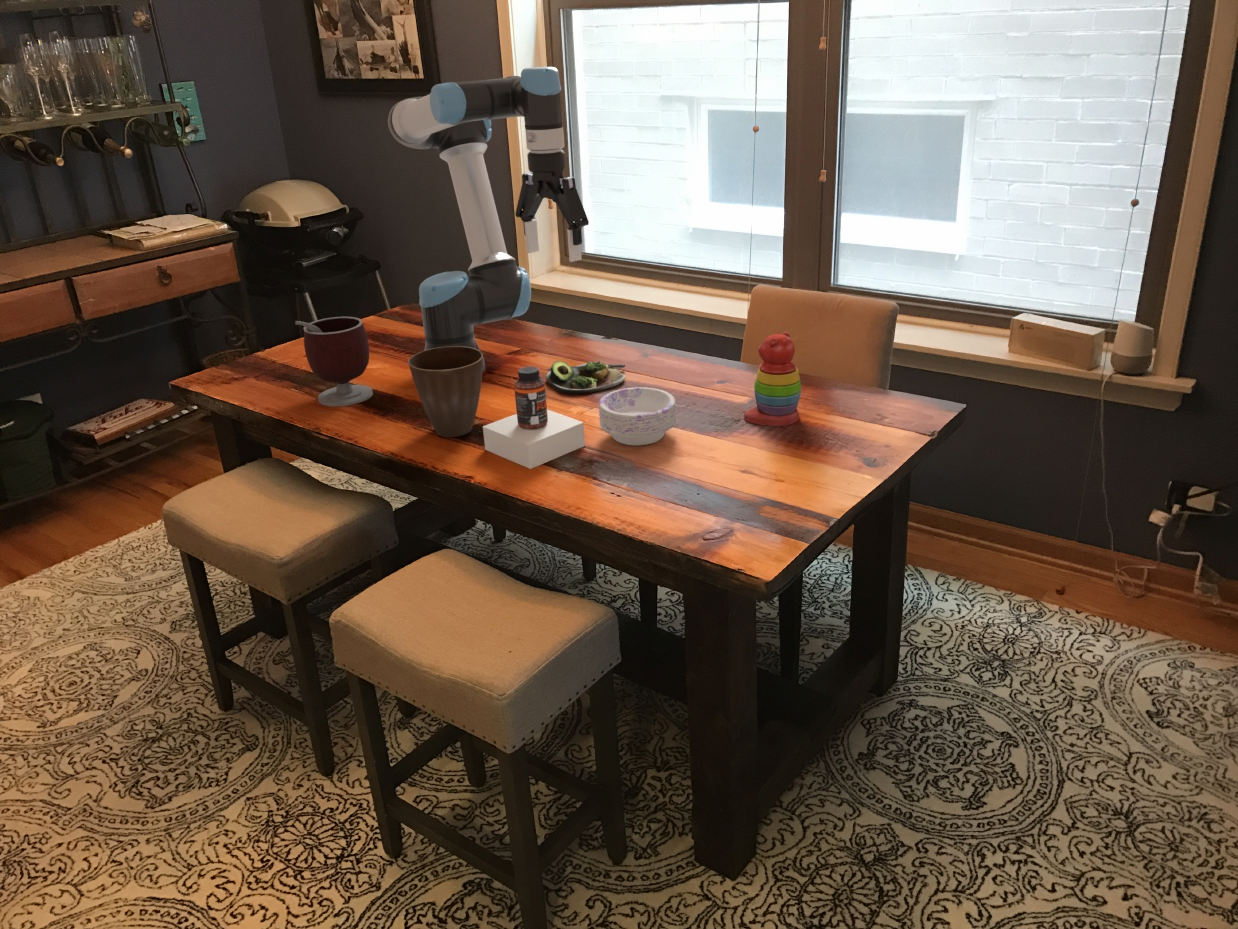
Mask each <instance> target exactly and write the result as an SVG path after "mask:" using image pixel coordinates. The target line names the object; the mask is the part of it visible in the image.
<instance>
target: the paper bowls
mask: <svg viewBox="0 0 1238 929" xmlns="http://www.w3.org/2000/svg"><path fill="white" fill-rule="evenodd" d="M676 402H677V401H676V398H675V397H674V396H673V395H672V394H671V393H670V392H667V391H665V390H662V389H658V388H655V387H654V388H653V387H646V386H645V387H642V386H641V387H638V386H636V387H635V386H634V387H627V388H621V389H616V390H613V391H611V392H609V393H607V394H604V396H602V397H601V398H600V400H599V402H598V413H599V414H598V415H599V426H600V428H601V430H602V431H603V432H605V433H607V434H608V435H611V437H612V439H614V440H615V441H616V442H617V443H620V444H623V445H625V446H626V445H627V446H636V447H639V446H640V447H641V446H647V445H651V444H654V443H656V442H658V441H660V440H661V439H662V438H663V437H665V434H666V432H669V431H670V430H671V429H672V428H673V427H674V426H675V425H676V423H677V413H676V412H677V407H676V406H677V405H676Z"/></svg>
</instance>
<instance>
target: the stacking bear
mask: <svg viewBox="0 0 1238 929" xmlns="http://www.w3.org/2000/svg"><path fill="white" fill-rule="evenodd" d="M795 351H796V346H795V342H794V341H793V340H792V339H791V336H790V334H789V333H788V332H787V331H784V332H783V333H782V334H781V333H779V334H778V333H775V334H771V335H769V336H767V337H766V338H765V339H764V341H763V342H762V343H761V344H760V345H759V346H758V349H757V352H758V355H759V357H760V359H761V360H762V362H760V364H759V366H758V370H757V373H756V378H755V380H754V387H753V388H754V392H753V393H754V397H755V404H756V407H753V408H750V409H748V410H747V411H746V412H744V415H743V419H744V421H745V422H749V423H751V424H755V425H760V426H767V425H768V426H769V427H784V426H788V425H792V424H795V423H796V422H798V421H799V419H800V412H799V410H798V405H799V401H800V399H801V394H802V382H801V379H800V373H799V372H800V371H799V369H798V367H797V366H796V365H795V363H794V362H793V358H794V356H795V353H796V352H795Z"/></svg>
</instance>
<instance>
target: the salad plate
mask: <svg viewBox="0 0 1238 929" xmlns="http://www.w3.org/2000/svg"><path fill="white" fill-rule="evenodd" d="M607 363H608V361H605V363H601V361H600V360H598V361H593V362H592V361H587V362H586V363H584V364H579V365H574V366H571V365H569V364H568V363H566V362H564V361H561V360H557V361H554V362H553V363H552V365H551V366H550V367H549V368H547V369H546V370H547V371H548V373H547V374H546V375H545V378H546V379H545V380H546V382H547V383H548V385H550V387H551V388H552V389H554V390H555V391H557V392H558V393H562V394H565V395H570V394H571V395H573V396H574V395H575V396H576V395H577V396H578V395H579V394H580V395H586V394H587V395H588V394H591V393H596V392H599V391H604V390H608V389H611V388H613V387H616V386H618V385H620V384H621V383H622V382H624V381H625V379H626V376H625V374H623V373H622V372H620V371H619V370H620V369H624V368H625V367H626V364H621V363H620V364H618V363H617V364H607ZM606 380H608V381H611V383H609V384H606V385H602V386H597V384H598V383H599V382H604V381H606Z"/></svg>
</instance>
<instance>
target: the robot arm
mask: <svg viewBox="0 0 1238 929" xmlns="http://www.w3.org/2000/svg"><path fill="white" fill-rule="evenodd" d="M430 90H431V91H430V93H428V94H426V95H424V96H414V97H409V98H405V99H403V100H401V101H399V102H396V104H394V105H393V106H392V107H391V109H390V111H389V114H388V118H387V126H388V129H389V131H390V133H391V135H392V136H393V138H394V139H395V140H396V141H397V142H398V143H399V144H401V145H403V146H405V147H407V148H411V149H415V150H428V149H429V150H430V149H437V151H438V154H439V158H440V159H441V160H443V161H445V162H446V163H447V165H448V169H449V173H450V176H451V177H450V178H451V181H452V185H453V189H454V193H455V197H456V200H457V201H456V202H457V205H458V208H459V213H460V217H461V220H462V225H463V228H464V232H465V237H466V240H467V245H468V249H469V253H470V257H471V260H472V261H471V264H470V266H469V267H468V269H467V271H468V274H467V273H466V272H465V271H461V270H453V271H444V272H440V273H437V274H434V275H432V276H429V277H428V278H426V279H424V280H423V281H422V282H421V283H420V285H419V287H418V295H419V301H418V303H419V306H420V312H421V318H422V326H423V334H424V339H425V346H424V350H428V349H432V348H438V347H447V346H464V347H471V348H475V349H478V350H480V351H481V349H480V347H479V345H478V343H477V340H476V338H475V332H474V326H477V325H478V326H479V325H483V324H487V323H492V322H497V321H503V320H511V319H513V318H516V317H520V316H523V315H524V314H525V313H527V311H528V310H529V306H530V302H531V298H532V286H531V280H530V276H529V273H527V270H526V269H525V268H524V267H522V266H518V265H517V262H516V258H515V257H514V256H511V255H510V254H508V251H507V248H506V243H505V239H504V235H503V232H502V230H503V229H502V227H501V223H500V219H499V214H498V211H497V207H496V203H495V199H494V194H493V191H492V186H491V182H490V179H489V174H488V170H487V166H486V162H485V157H484V154H485V153H486V151H487V149H488V143H487V142H489V141H490V139H491V138H492V134H493V133H492V130H493V129H492V128H491V126H492V120H498V119H507V118H517V117H522V118H524V129H525V139H526V140H525V141H526V149H527V150H528V151H529V152H528V153H527V154H526V155H527V156H526V157H527V165H528V166H527V168H528V171H529V172H526V173H525V172H524V173H522V175H521V186H520V192H519V197H518V200H517V206H516V209H515V216H516V218H520V220H521V221H522V223H523V234H524V236H525V244H526V253H527V254H532V253H536V252H540V246H539V235H538V234H539V233H538V222H537V217H536V214H537V212H538V210H539V208H540V206H541V204H542V202H543V201H544V200H543V199H548V200H551V201H552V202H553V203H555V204H556V206H557V207H558V209H559V211H560V212H561V214H562V216H563V217H564V219H565V221H566V223H567V224H568V228H567V229H566V230H567V246H568V259H569V260H568V261H569V263H570V262H571V263H573V262H578V261H581V260H582V257H583V256H582V244H583V238H582V236H583V234H582V233H583V232H582V228H583V227H586V226H588V225H590V224H589V219H588V216H587V214H586V211H585V209H584V206H583V202H582V200H581V198H580V195H579V192H578V189H577V185H576V184H577V183H576V179H575V177H574V176H568V177H564V174H563V172H564V171H565V169H566V166H567V165H566V152H565V151H564V150H563V148H564V147H565V146H566V145H565V136H564V126H563V125H564V124H563V108H562V86H561V80H560V72H559V70H558V69H557V68H556V67H554V66H535V67H534V66H533V67H524V68H523V69H522V70H521V72H520V76H519V75H512V76H511V75H510V76H505V77H501V78H492V79H490V78H489V79H481V80H469V81H456V82H455V81H448V82H443V83H438V84H435V85H433V86H432V87H431V89H430ZM485 370H486V363H485V358H484V357H483V369H482V373H484V371H485Z"/></svg>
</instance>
